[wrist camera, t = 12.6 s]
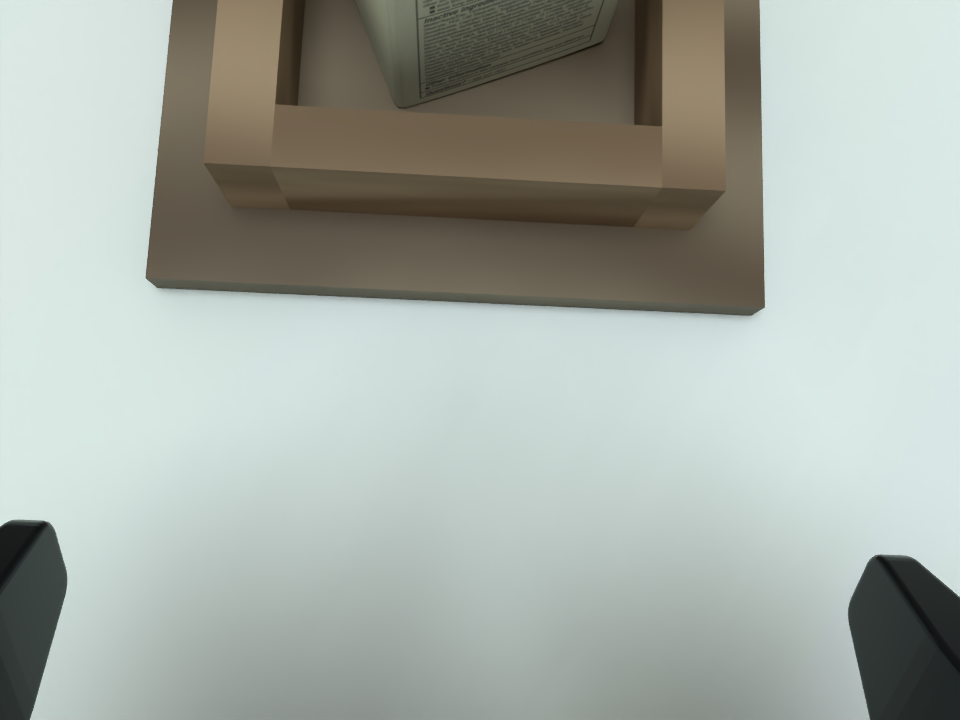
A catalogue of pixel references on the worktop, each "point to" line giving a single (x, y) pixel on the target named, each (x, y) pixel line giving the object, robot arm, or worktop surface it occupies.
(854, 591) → the robot arm
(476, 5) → the skincare box
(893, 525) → the worktop surface
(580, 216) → the socket
